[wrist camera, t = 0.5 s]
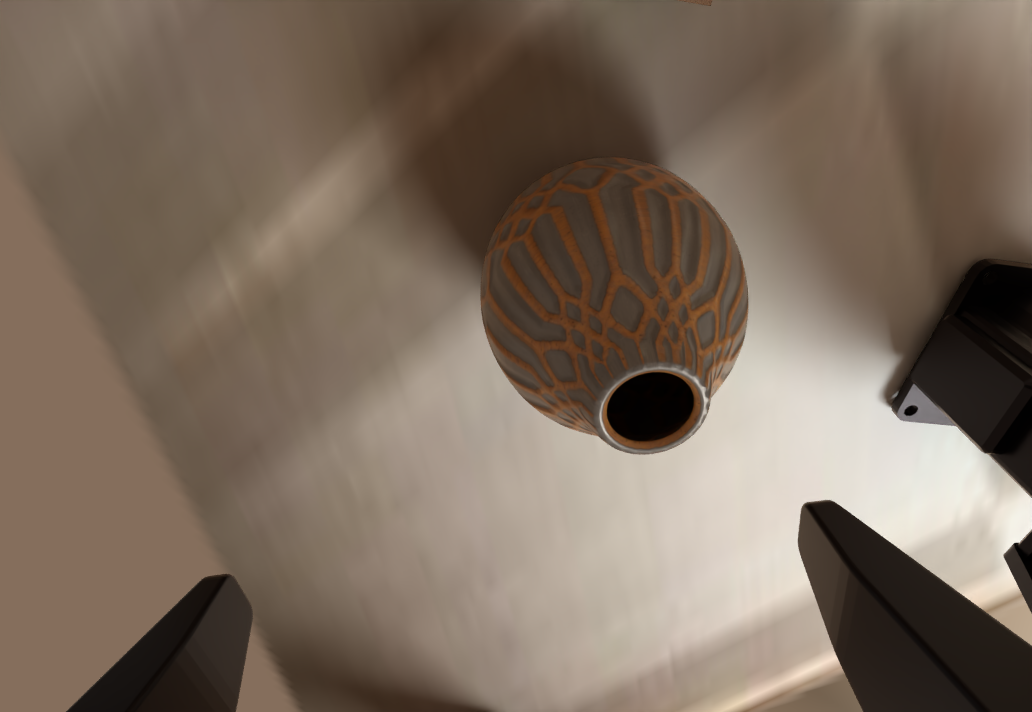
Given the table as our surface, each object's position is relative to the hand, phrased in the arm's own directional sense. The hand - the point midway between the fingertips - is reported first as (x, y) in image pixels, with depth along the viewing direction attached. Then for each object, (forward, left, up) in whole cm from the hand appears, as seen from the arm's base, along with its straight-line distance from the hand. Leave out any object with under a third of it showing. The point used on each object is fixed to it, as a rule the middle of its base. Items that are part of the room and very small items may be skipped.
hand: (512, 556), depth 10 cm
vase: (-3, -1, -12) cm, 13 cm away
